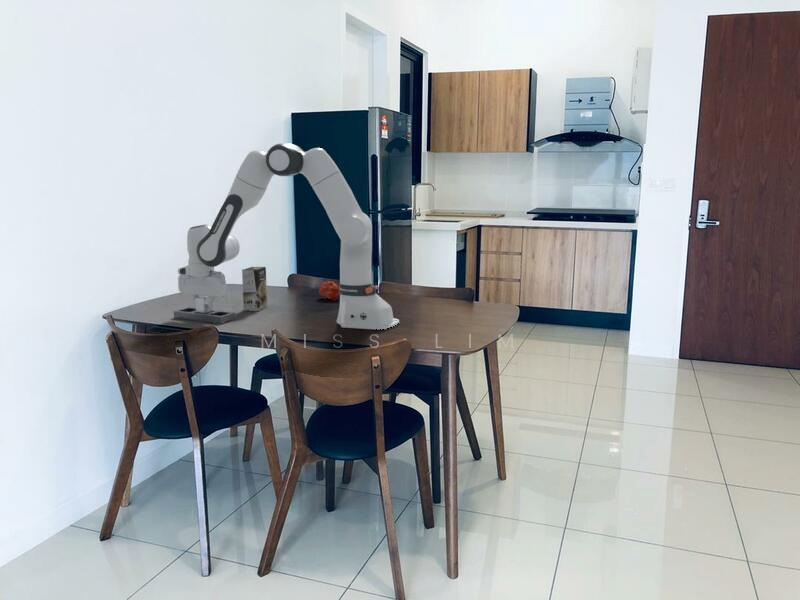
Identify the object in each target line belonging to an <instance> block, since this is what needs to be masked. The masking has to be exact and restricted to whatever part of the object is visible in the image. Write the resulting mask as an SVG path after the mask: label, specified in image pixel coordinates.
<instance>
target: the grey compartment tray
mask: <svg viewBox="0 0 800 600" xmlns="http://www.w3.org/2000/svg"><path fill="white" fill-rule="evenodd" d="M236 317H237V316H236V312H233V311H225V310H219V309H218V310H217V309H212V312H211V313H207V314H200V313H196V307H193V306H192V307H190V306H188V307H185V308H181V309H178V310H174V311H173V318H174V319H179V318H182V319H181V320H186V319H188V321H194V320H196V322H202V321H207V322H206V323H210V322H215V323H214V324H217V323H222V324H224V323H223V322H226V321H229V320H232V319H235V318H236ZM236 319H237V318H236ZM236 319H235V320H236ZM232 321H233V320H232ZM229 322H230V321H229ZM226 323H227V322H226Z"/></svg>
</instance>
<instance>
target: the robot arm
mask: <svg viewBox="0 0 800 600" xmlns="http://www.w3.org/2000/svg"><path fill="white" fill-rule="evenodd" d="M298 174H302V175H303V177H305V178H306V180H307V181H308V183H309V184H310V187H312V190H313V191H314V193H315V194H316V196H317V198H318V200H319V201H320V203H321V205H322V206H323V208H324V210H325V211H326V215H327V216H328V219H329V221H330V222H331V224H332V226H333V228H334V230H335V232H336V234H337V235H338V238H339V239H340V254H339V280H340V281H339V296H340V297H339V309H338V314H337V318H336V324H338V325H340V328H343V329H344V328H347V329H363V330H376V329H377V330H378V331H379V330H380V329H381V330H380V331H383V330H382V329H384V330H388V329H387V328H389V329H391V328H390V327H392V328H394V327H396V326H398V325H399V324H400V319H398V318H395V317H394V313H393V309H392V306H391V304H389V303H388V302H387V301H386V300H384V299H383V298H382V297H381V296H380V295H378V294H377V289H379V285H374V283H373V282H372V280H373V279H372V254H373V252H372V249H373V248H372V247H373V241H372V240H373V224H372V223H373V222H372V221H371V219H370V217H369V216H368V215H367V214H366V213H365V212H363V210H362V208H361V206H360V205H359V203H358V201H357V199H356V197H355V195H354V194H353V191H352V189H351V187H350V185H349V184H348V182H347V180H346V179H345V177H344V175H343V173H342V172H341V170H340V169H339V167H338V166H337V164H336V163H335V161H334V160H333V159H332V157H331V156H330V155H329V154H328V153H327V151H326V150H325V149H323V148H320V147H314V148H311V149H309V150H307V151H305V150H304V149H303V148H302V147H301V146H299V145H298V144H295V143H294V144H293V143H290V142H282V143H277V144H273V146H271V147H270V148H269V149H268V150H267V152H265V151H262V150H258V149H257V150H252V151H249V153H247V155H246V156H245V158H244V159H243V161H242V163H241V165H240V166H239V169H238V170H237V172H236V176H235V177H234V180H233V183H232V185H231V187H230V188H229V192H228V193H227V196H226V198H225V200H224V201H223V204H222V205H221V207H220V209H219V212H218V213H217V215H216V217H215V219H214V221H213V223H212V225H209V224H202V225H196V226H195V225H194V226H191V227H190V228H189V229H188V230H187V235H186V236H187V237H186V239H187V240H186V243H187V244H186V246H187V253H188V256H189V257H188V261H187V265H186V266H182V267H180V268H178V269H177V274H178V277H177V286H178V291H179V293H180V294H181V295H182V294H185V295H190V296H191V299H192V300H193V303H194V308H196V302H195V297H199V296H208V299H209V302H208V303H207V304H206V307H207V308H212V309H213V307H214V305H213V304H214V301H215V300H216V298H217V299H218V298H219V299H220V298H224V297H227V295H228V287H227V280H226V276H225V274H224V273H223V272H222V271H216V270H215V267H217V266H219V265H221V264H223V263H226V262H229V261H231V260H233V259H235V258H236V257H237V256H238V255H239V252H240V243H239V240H238V239H237V238H236V237H235V236H234V235H232V234H231V233H232V231H233V229H234V226H235V224H236V222H237V221H238V220H239V218H240V217H242V215H243V214H245V213H246V212H248V211H250V210H251V209H254V208H255V207H257V206H258V204H259V203H260V202H261V200H262V198H263V197H264V195H265V193H266V191H267V189H268V186H269V184H270V182H271V180H272V178H273V177H274V176H275V175H277V176H279V177H292V176H296V175H298ZM398 323H399V324H398ZM397 324H398V325H397ZM395 325H396V326H395ZM393 326H394V327H393Z"/></svg>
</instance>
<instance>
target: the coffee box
mask: <svg viewBox="0 0 800 600" xmlns="http://www.w3.org/2000/svg"><path fill="white" fill-rule="evenodd" d="M241 273H242V274H241V277H242V299H243V301H242V302H243V311H246V310H249V311H251V312H259V311H261V310H263V309H265V308H267V307H268V290H267V286H268V285H267V267H266V266H250V267H247V268H244V269H241Z"/></svg>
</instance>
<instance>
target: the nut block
mask: <svg viewBox="0 0 800 600" xmlns="http://www.w3.org/2000/svg"><path fill="white" fill-rule="evenodd" d="M195 302H196V307H195V308H196V313H200V314H207V313H211V312H212V310H213V308H207V307H206V304H207V303H208V302H209V299H208V296H200V295H199V297H195ZM195 302H194V303H195Z"/></svg>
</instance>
